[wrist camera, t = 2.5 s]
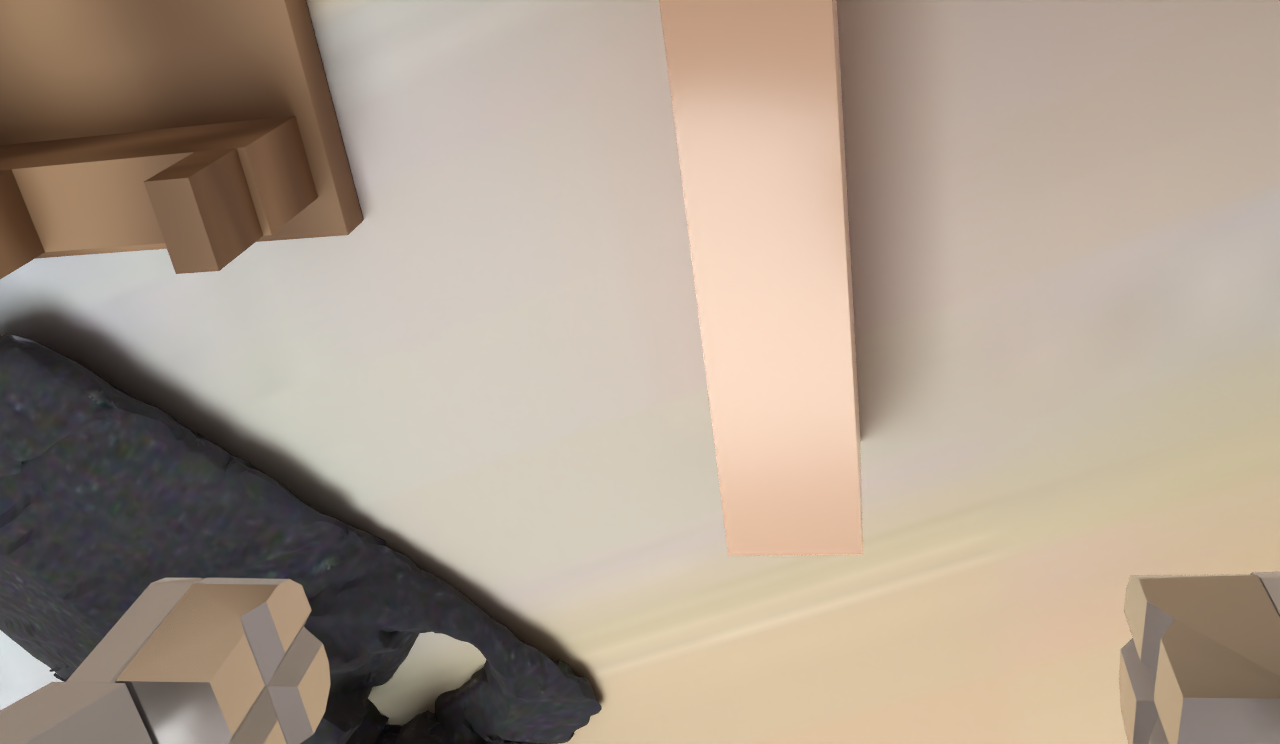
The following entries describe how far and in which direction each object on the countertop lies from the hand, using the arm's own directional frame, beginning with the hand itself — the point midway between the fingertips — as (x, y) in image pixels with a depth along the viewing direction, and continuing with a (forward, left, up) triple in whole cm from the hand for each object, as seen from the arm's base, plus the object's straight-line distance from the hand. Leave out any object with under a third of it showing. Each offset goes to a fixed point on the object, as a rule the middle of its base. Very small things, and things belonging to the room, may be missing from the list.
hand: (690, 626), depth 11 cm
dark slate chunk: (+18, +14, -17) cm, 29 cm away
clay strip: (0, 0, -17) cm, 17 cm away
